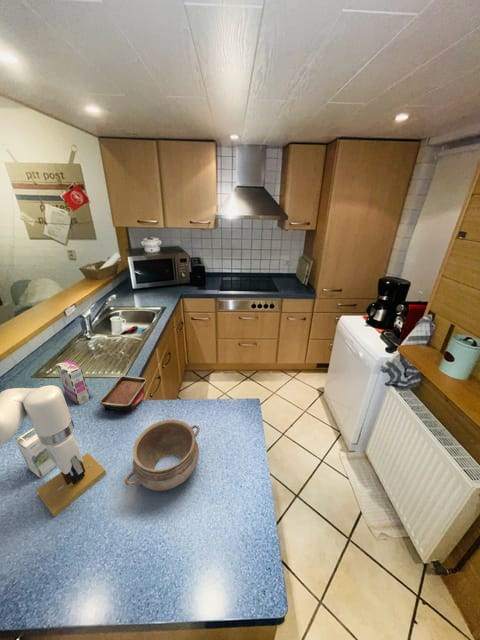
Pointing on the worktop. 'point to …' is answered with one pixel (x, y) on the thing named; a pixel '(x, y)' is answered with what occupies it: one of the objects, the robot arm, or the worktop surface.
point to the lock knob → (66, 476)
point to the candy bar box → (73, 381)
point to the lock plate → (70, 486)
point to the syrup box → (34, 453)
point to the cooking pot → (164, 454)
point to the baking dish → (124, 394)
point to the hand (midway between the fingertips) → (74, 475)
